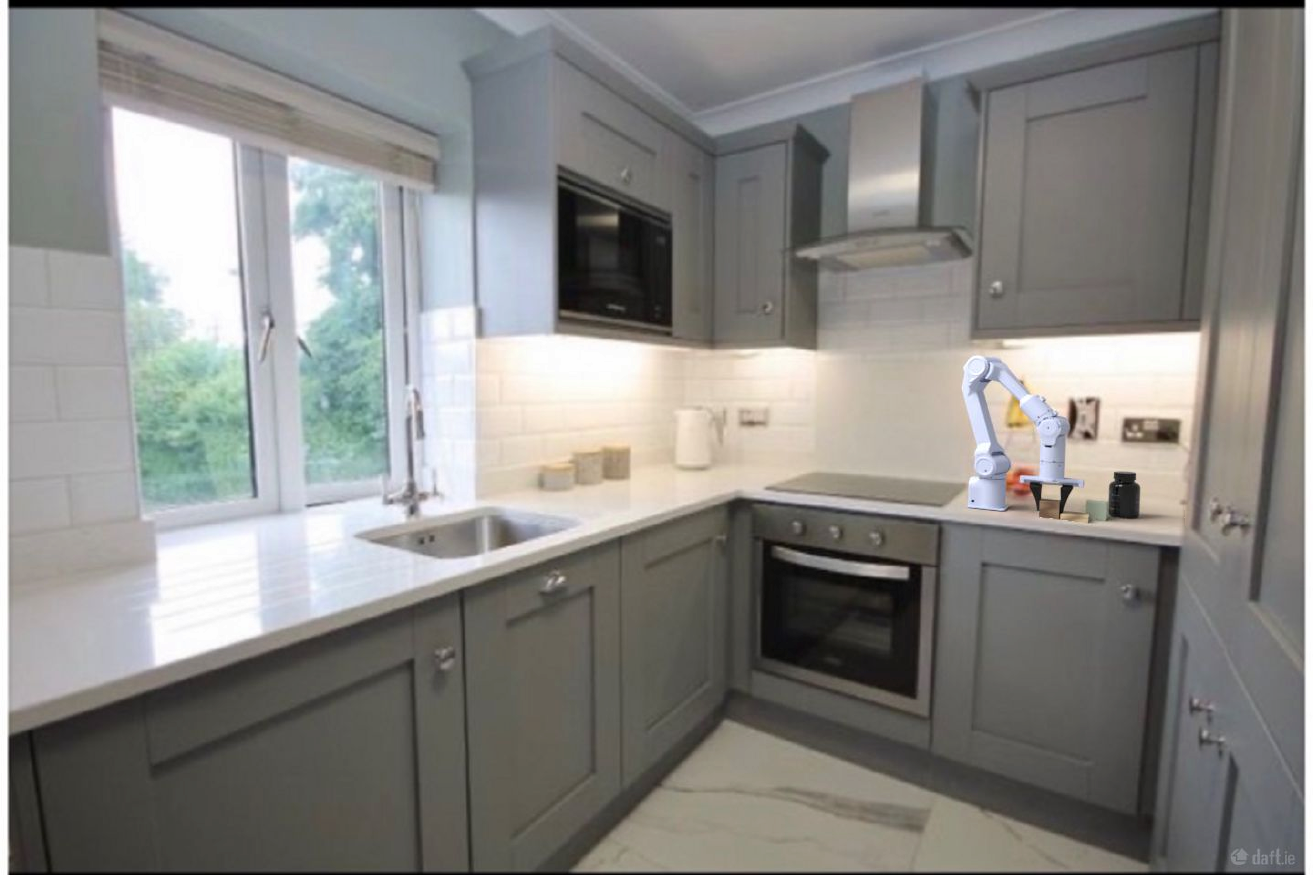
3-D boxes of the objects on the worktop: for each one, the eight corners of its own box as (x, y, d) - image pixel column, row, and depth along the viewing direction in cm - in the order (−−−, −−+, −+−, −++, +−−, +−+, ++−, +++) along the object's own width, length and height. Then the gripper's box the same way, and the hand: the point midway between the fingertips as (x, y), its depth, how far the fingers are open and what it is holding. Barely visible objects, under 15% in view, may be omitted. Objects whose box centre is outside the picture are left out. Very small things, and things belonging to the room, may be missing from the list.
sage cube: (1085, 518, 167) (1085, 502, 167) (1087, 516, 171) (1087, 499, 170) (1105, 521, 164) (1106, 504, 164) (1107, 518, 168) (1108, 501, 167)
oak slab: (1060, 523, 166) (1060, 514, 165) (1062, 519, 170) (1062, 510, 170) (1087, 526, 162) (1088, 517, 162) (1088, 522, 167) (1089, 513, 166)
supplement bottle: (1125, 513, 173) (1127, 470, 172) (1145, 518, 166) (1148, 474, 165) (1101, 514, 173) (1103, 470, 172) (1120, 519, 166) (1123, 474, 165)
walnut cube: (1038, 517, 169) (1039, 500, 169) (1041, 514, 173) (1042, 498, 172) (1058, 519, 166) (1059, 502, 166) (1060, 516, 170) (1061, 500, 169)
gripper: (1018, 461, 170) (1016, 510, 171) (1083, 464, 161) (1080, 517, 162) (1023, 458, 175) (1021, 506, 176) (1085, 462, 166) (1083, 512, 167)
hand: (1050, 511), depth 169 cm, fingers closed on walnut cube, 4 cm apart
